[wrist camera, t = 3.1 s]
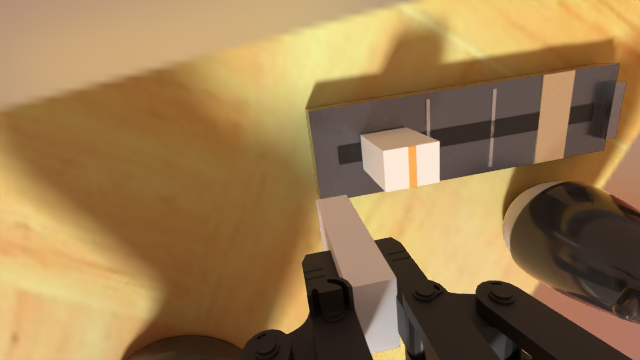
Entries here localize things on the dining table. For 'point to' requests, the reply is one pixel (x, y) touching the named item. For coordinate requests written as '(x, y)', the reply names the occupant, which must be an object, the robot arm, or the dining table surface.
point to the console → (473, 124)
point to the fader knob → (401, 158)
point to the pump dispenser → (578, 244)
